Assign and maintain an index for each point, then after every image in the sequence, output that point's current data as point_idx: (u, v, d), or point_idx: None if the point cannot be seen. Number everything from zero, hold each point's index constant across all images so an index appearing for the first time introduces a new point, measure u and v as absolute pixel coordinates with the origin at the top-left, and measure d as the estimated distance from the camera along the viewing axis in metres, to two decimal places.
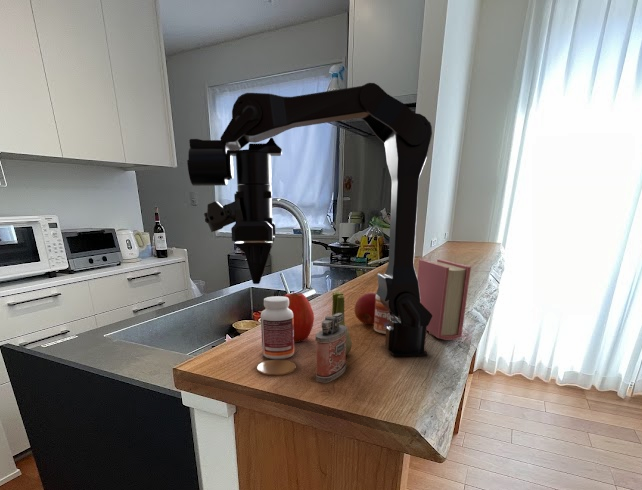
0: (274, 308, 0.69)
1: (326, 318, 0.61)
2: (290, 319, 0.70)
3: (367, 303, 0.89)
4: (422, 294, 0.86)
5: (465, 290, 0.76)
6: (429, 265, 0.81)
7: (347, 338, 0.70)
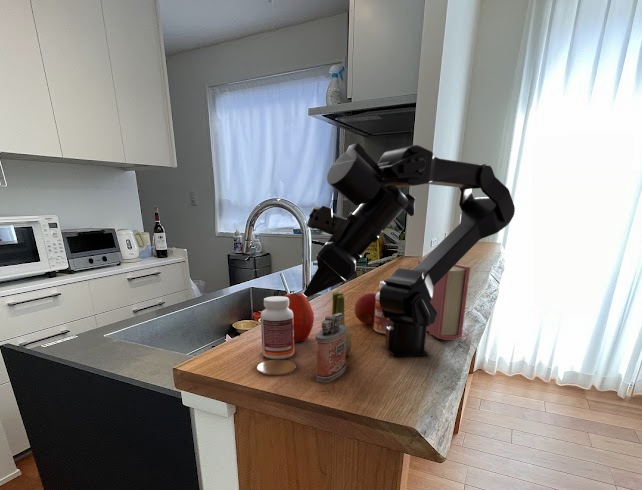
0: (274, 308, 0.69)
1: (326, 318, 0.61)
2: (290, 319, 0.70)
3: (367, 303, 0.89)
4: None
5: (465, 290, 0.76)
6: None
7: (347, 338, 0.70)
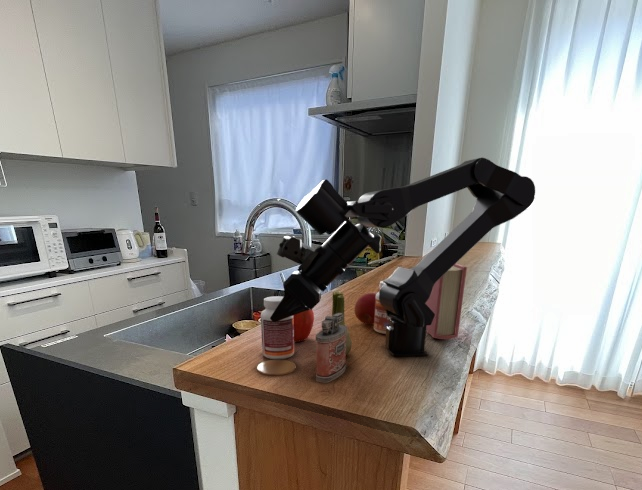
0: (274, 308, 0.69)
1: (326, 318, 0.61)
2: (290, 319, 0.70)
3: (367, 303, 0.89)
4: None
5: (461, 290, 0.76)
6: None
7: (347, 338, 0.70)
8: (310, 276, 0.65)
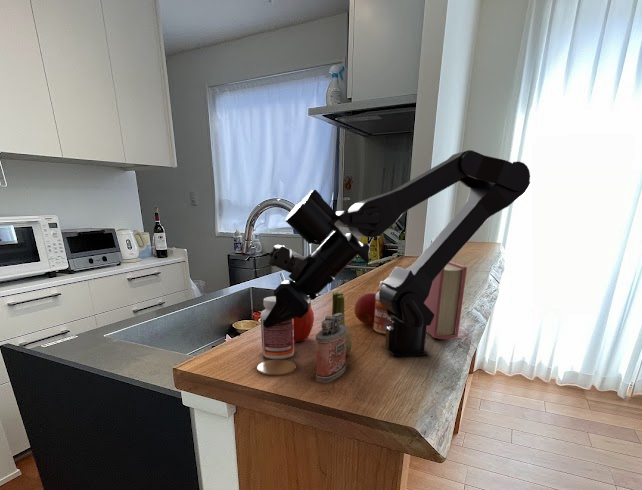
0: None
1: (326, 318, 0.61)
2: (290, 320, 0.70)
3: (367, 303, 0.89)
4: None
5: (461, 290, 0.76)
6: None
7: (347, 338, 0.70)
8: (300, 285, 0.66)
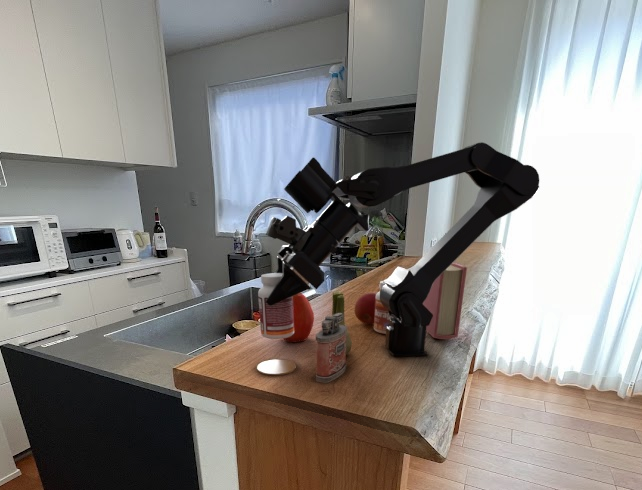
0: None
1: (326, 318, 0.61)
2: None
3: (367, 303, 0.89)
4: None
5: (461, 290, 0.76)
6: None
7: (347, 338, 0.70)
8: None
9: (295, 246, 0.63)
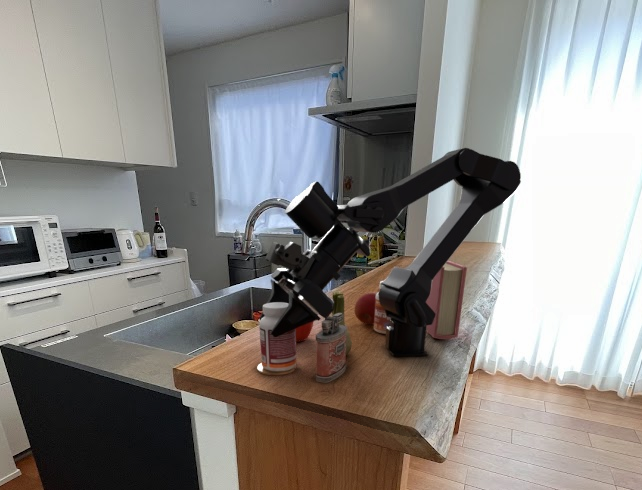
0: (280, 315, 0.62)
1: (326, 318, 0.61)
2: None
3: (367, 303, 0.89)
4: None
5: (461, 290, 0.76)
6: None
7: (347, 338, 0.70)
8: None
9: (299, 273, 0.60)
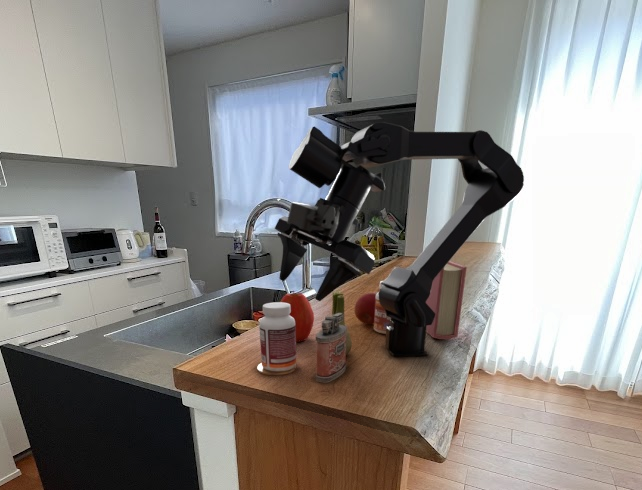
0: (280, 315, 0.62)
1: (326, 318, 0.61)
2: None
3: (367, 303, 0.89)
4: None
5: (461, 290, 0.76)
6: None
7: (347, 338, 0.70)
8: (336, 239, 0.61)
9: (329, 232, 0.59)
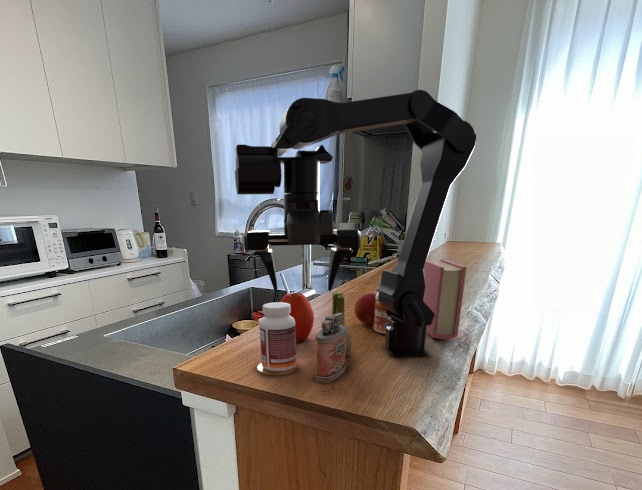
0: (280, 315, 0.62)
1: (326, 318, 0.61)
2: None
3: (367, 303, 0.89)
4: None
5: (461, 290, 0.76)
6: (429, 264, 0.82)
7: (347, 338, 0.70)
8: None
9: None
